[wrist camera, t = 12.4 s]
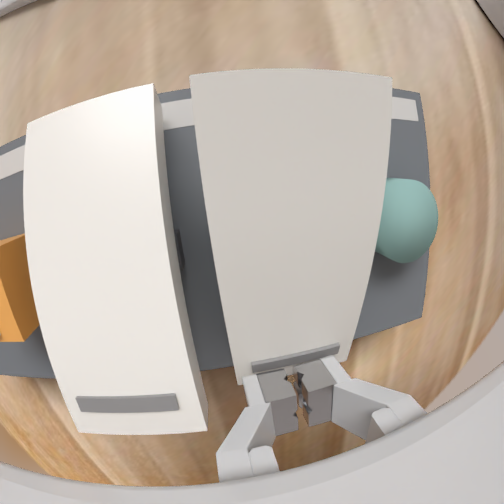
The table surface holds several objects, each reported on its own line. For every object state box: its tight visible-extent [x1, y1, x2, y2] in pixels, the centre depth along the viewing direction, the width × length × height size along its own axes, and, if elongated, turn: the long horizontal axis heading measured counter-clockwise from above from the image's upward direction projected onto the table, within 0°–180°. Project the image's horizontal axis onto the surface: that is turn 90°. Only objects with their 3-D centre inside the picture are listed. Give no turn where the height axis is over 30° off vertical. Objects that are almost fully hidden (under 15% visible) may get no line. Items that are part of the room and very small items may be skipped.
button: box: [375, 178, 438, 263], centre depth 10 cm, size 3×3×1 cm
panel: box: [0, 88, 430, 378], centre depth 11 cm, size 26×11×5 cm, turn 97°
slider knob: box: [0, 233, 40, 342], centre depth 8 cm, size 3×3×3 cm
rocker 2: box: [189, 68, 392, 385], centre depth 8 cm, size 4×10×2 cm, turn 7°
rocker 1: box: [23, 83, 208, 435], centre depth 7 cm, size 4×10×2 cm, turn 7°
